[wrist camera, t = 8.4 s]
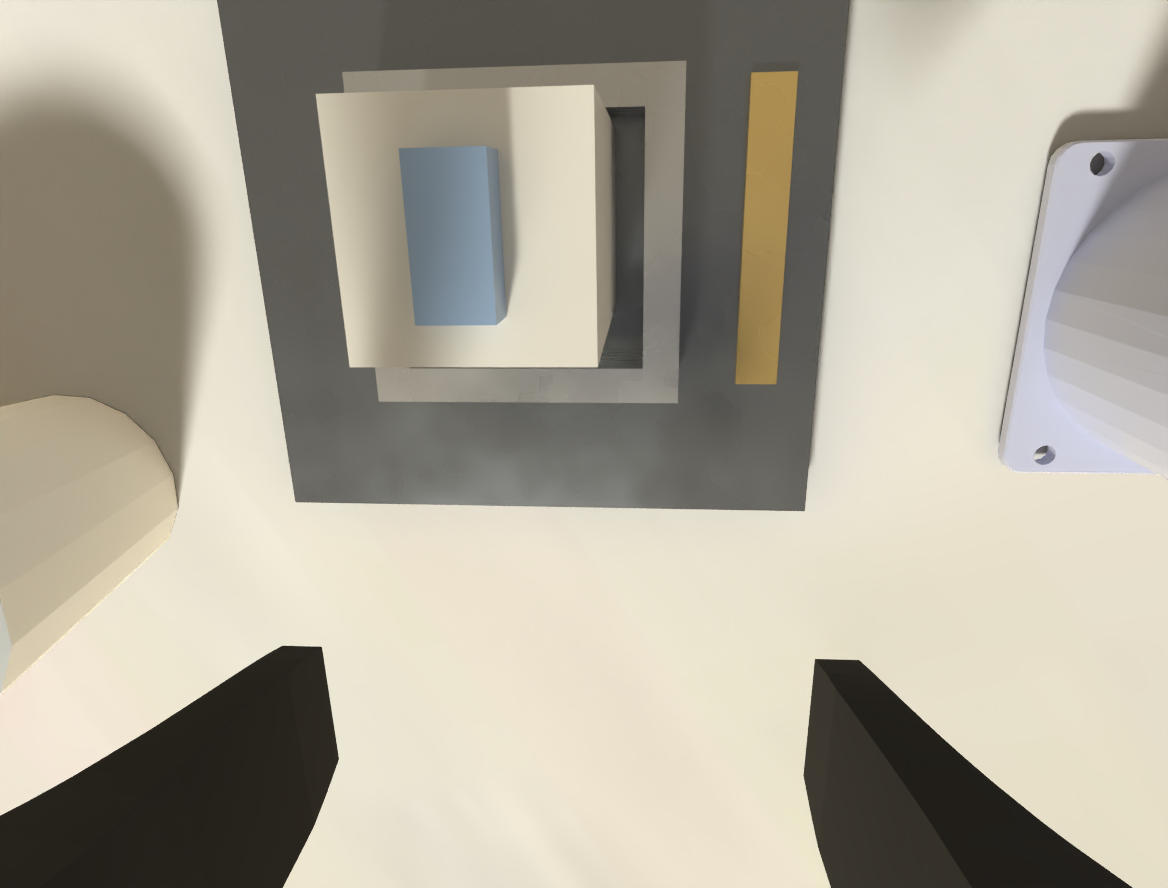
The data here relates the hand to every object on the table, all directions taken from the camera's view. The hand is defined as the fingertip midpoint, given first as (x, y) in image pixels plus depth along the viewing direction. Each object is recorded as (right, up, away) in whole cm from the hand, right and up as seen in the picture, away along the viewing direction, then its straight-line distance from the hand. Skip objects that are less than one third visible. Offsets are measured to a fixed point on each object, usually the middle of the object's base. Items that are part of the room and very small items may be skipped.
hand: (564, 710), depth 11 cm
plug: (-1, +9, +7) cm, 12 cm away
